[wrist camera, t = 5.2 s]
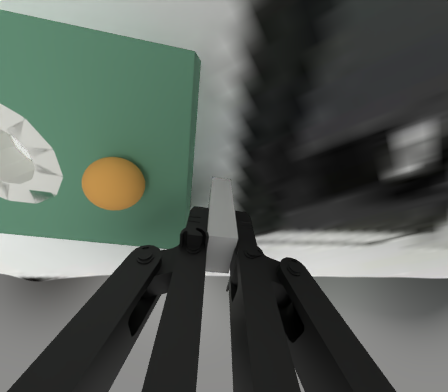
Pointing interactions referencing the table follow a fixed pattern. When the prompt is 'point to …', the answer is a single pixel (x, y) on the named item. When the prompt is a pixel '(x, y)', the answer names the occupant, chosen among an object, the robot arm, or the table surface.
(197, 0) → the table surface
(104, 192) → the ball
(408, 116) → the table surface
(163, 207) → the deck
